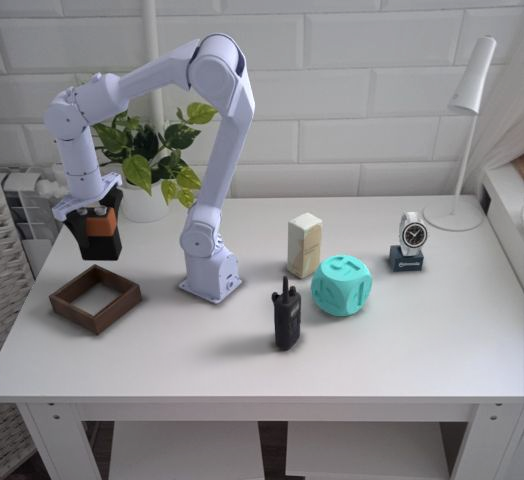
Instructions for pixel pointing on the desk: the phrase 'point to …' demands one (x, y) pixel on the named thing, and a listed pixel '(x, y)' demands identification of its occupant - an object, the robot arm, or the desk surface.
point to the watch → (409, 244)
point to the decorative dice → (341, 285)
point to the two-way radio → (287, 316)
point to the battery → (101, 234)
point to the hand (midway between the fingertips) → (98, 235)
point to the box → (304, 244)
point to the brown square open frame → (84, 283)
